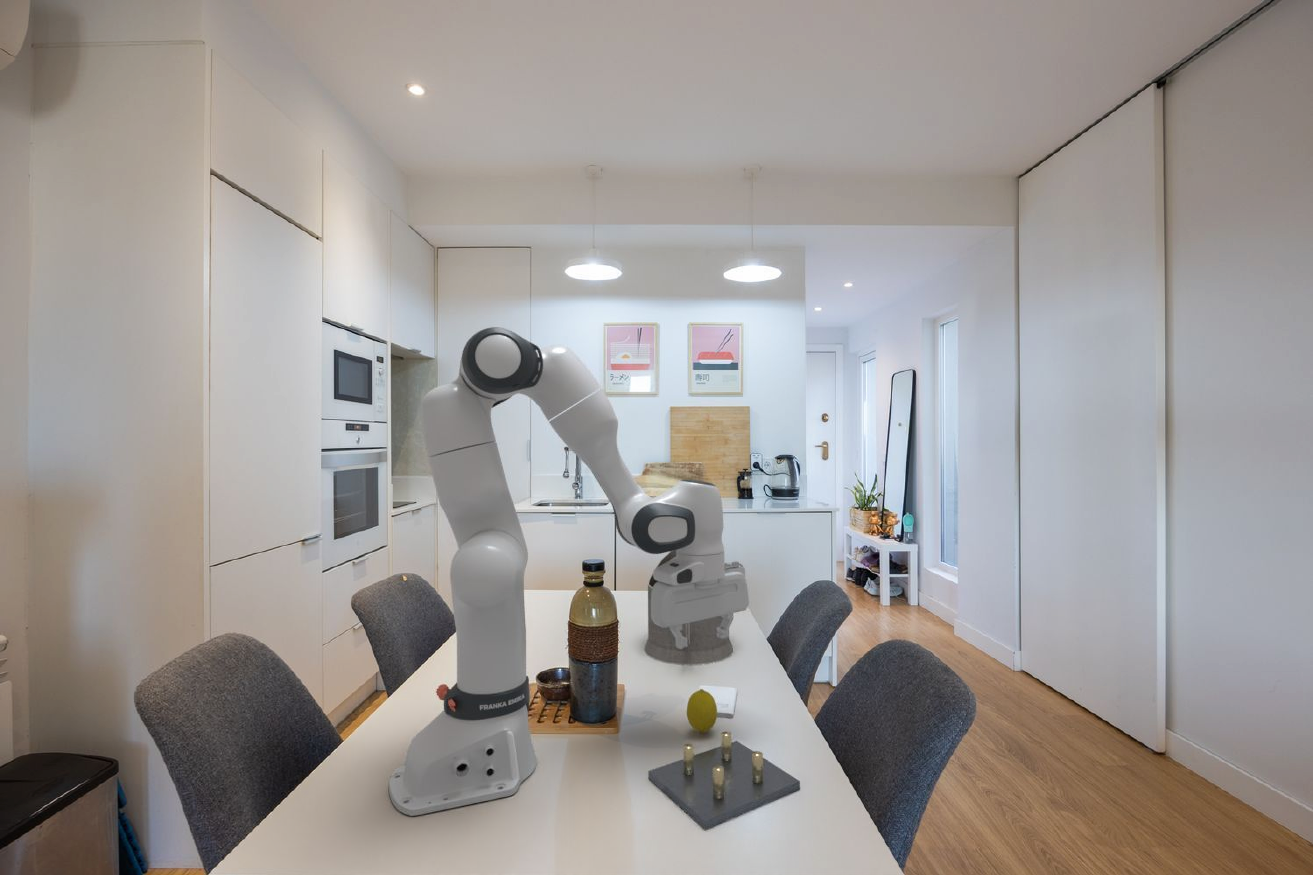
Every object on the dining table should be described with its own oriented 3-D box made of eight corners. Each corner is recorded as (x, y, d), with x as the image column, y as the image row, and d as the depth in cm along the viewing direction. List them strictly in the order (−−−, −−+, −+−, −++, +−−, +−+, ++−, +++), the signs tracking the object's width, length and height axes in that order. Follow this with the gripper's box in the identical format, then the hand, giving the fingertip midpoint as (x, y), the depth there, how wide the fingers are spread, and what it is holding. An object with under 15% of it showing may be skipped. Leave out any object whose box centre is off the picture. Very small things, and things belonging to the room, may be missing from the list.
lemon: (714, 726, 111) (714, 683, 111) (719, 740, 105) (718, 695, 106) (685, 726, 111) (685, 683, 111) (688, 741, 105) (687, 695, 105)
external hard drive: (737, 695, 126) (733, 721, 114) (699, 692, 128) (691, 717, 116) (737, 687, 126) (733, 712, 114) (699, 684, 128) (691, 709, 116)
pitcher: (730, 635, 165) (729, 546, 166) (739, 679, 134) (738, 568, 134) (648, 634, 167) (647, 546, 167) (637, 678, 135) (636, 568, 136)
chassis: (705, 829, 81) (704, 791, 81) (648, 778, 93) (648, 745, 93) (799, 788, 90) (799, 754, 90) (736, 747, 103) (736, 717, 103)
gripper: (733, 557, 117) (735, 627, 117) (645, 571, 106) (647, 648, 106) (754, 562, 112) (757, 635, 111) (664, 577, 101) (666, 658, 101)
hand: (702, 642), depth 109 cm, fingers open, 8 cm apart
